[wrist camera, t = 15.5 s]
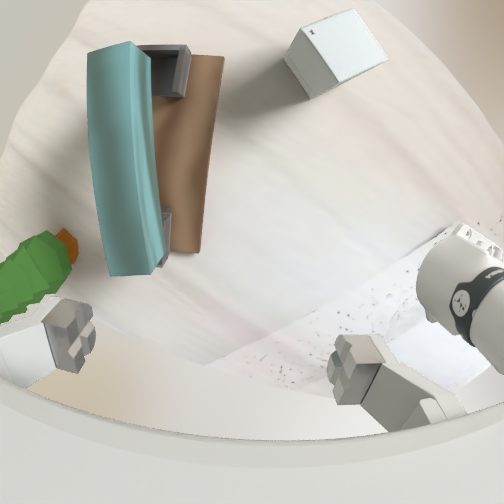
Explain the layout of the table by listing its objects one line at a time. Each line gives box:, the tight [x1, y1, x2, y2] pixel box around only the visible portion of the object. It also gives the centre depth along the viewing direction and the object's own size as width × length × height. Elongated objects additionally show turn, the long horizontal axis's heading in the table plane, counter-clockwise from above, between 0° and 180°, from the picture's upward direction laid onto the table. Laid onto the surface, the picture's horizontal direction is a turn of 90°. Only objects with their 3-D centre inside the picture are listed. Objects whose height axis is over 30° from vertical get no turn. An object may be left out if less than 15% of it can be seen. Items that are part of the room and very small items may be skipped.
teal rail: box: [87, 41, 166, 276], centre depth 24 cm, size 4×20×6 cm, turn 3°
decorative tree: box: [0, 228, 78, 324], centre depth 29 cm, size 10×9×30 cm
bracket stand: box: [137, 45, 225, 268], centre depth 33 cm, size 12×28×13 cm, turn 172°
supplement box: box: [283, 8, 388, 99], centre depth 29 cm, size 7×7×13 cm
